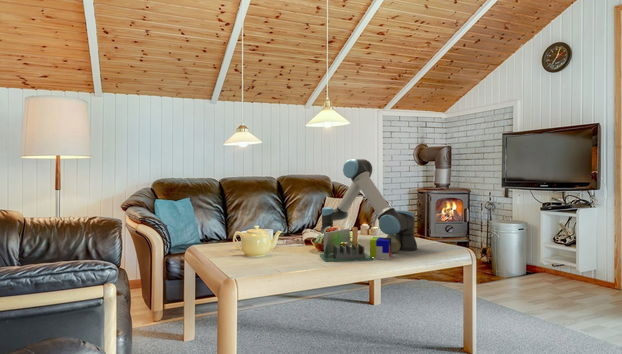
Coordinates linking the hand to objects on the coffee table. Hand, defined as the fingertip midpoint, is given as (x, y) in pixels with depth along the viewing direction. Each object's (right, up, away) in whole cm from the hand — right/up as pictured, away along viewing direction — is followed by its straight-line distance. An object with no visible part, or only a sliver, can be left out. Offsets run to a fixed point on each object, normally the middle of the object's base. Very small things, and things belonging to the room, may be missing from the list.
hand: (339, 239), depth 244 cm
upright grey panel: (-2, -6, -8) cm, 10 cm away
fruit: (+31, -8, -2) cm, 32 cm away
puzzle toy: (+22, -8, -13) cm, 27 cm away
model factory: (+2, -7, -17) cm, 19 cm away
